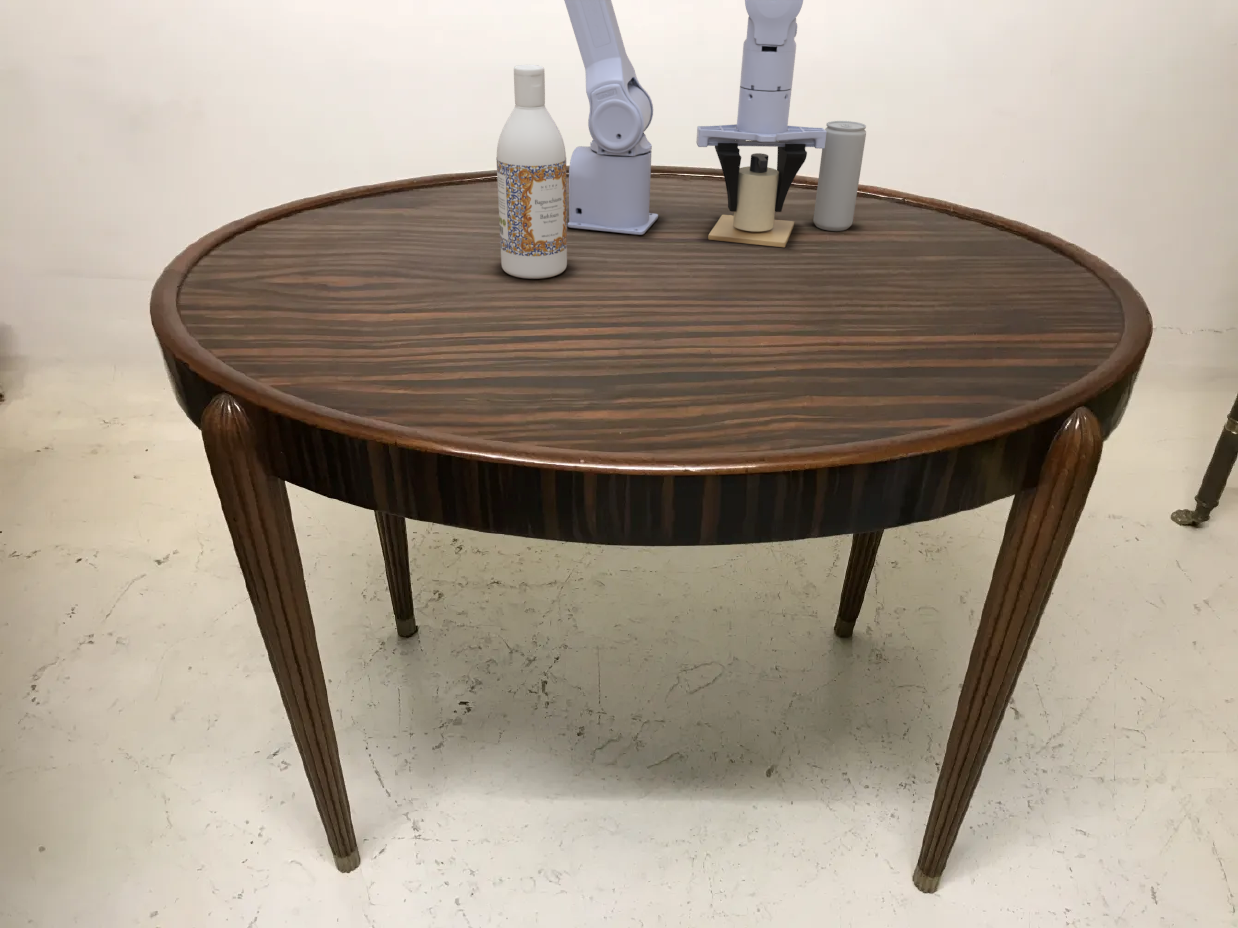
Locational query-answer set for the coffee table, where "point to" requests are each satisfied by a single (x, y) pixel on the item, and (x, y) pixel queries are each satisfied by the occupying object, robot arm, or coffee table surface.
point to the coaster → (751, 233)
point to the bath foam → (532, 183)
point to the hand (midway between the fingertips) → (754, 209)
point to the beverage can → (839, 175)
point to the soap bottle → (756, 195)
